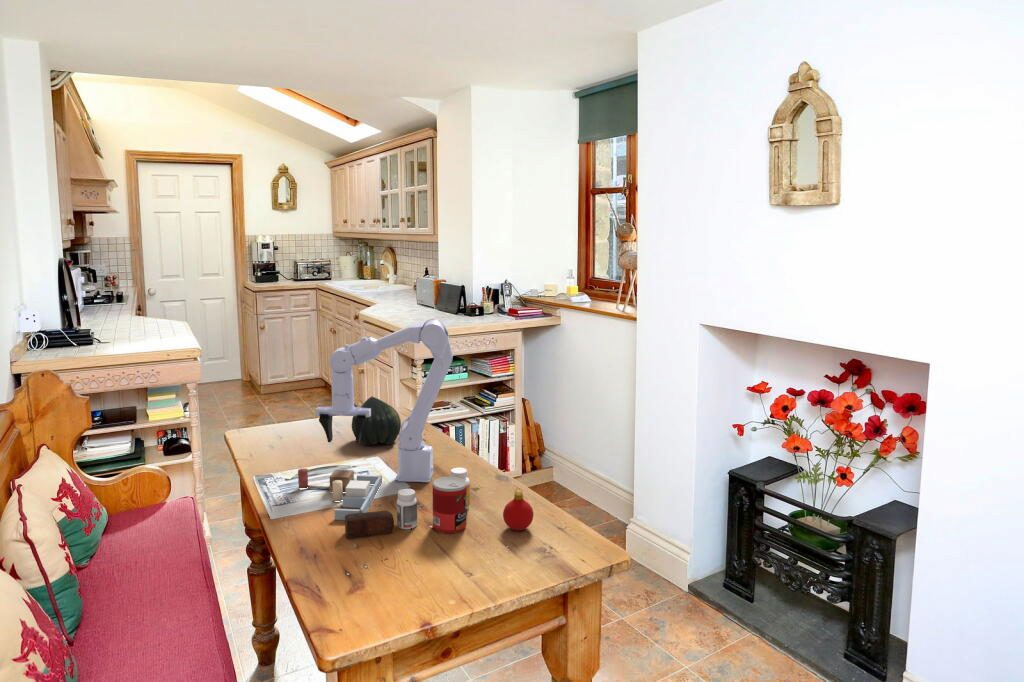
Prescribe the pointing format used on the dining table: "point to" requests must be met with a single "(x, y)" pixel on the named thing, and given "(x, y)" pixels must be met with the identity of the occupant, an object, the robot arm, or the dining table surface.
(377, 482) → the lane rack
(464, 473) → the supplement bottle
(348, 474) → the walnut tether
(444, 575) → the dining table surface
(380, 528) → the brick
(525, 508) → the christmas ornament
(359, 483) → the white block with peg
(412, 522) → the pill bottle
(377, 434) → the squash
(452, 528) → the canned food
